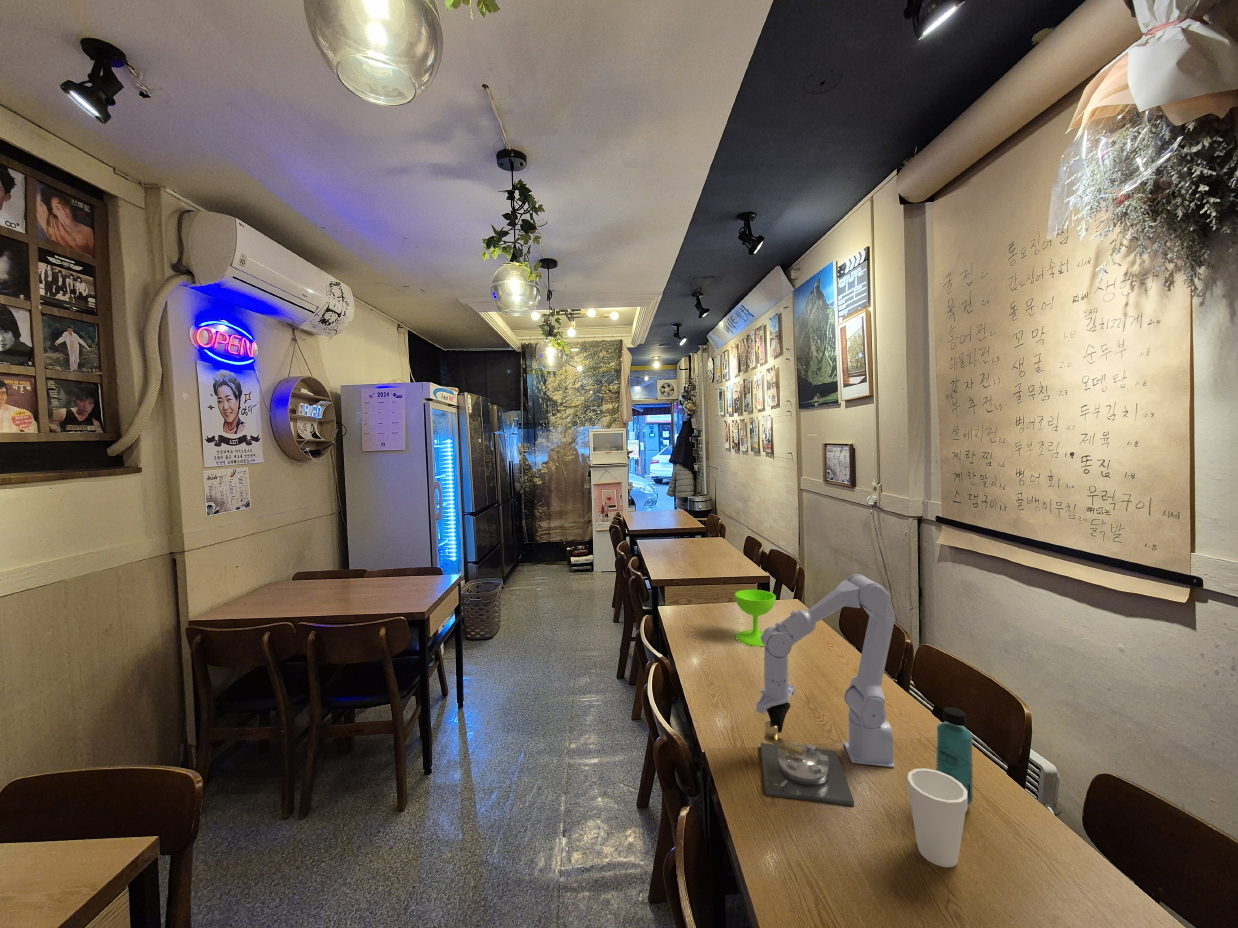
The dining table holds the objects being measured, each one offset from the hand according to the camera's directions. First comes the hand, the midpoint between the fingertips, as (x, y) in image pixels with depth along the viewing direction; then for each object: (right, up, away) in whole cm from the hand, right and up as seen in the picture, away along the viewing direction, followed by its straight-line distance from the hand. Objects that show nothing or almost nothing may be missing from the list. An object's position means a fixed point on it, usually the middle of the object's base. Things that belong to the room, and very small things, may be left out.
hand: (776, 730), depth 121 cm
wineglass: (+16, -5, +75) cm, 77 cm away
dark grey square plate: (+4, -6, -7) cm, 10 cm away
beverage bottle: (+32, -6, -18) cm, 37 cm away
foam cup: (+20, -6, -30) cm, 37 cm away
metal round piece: (+2, -5, -6) cm, 8 cm away
